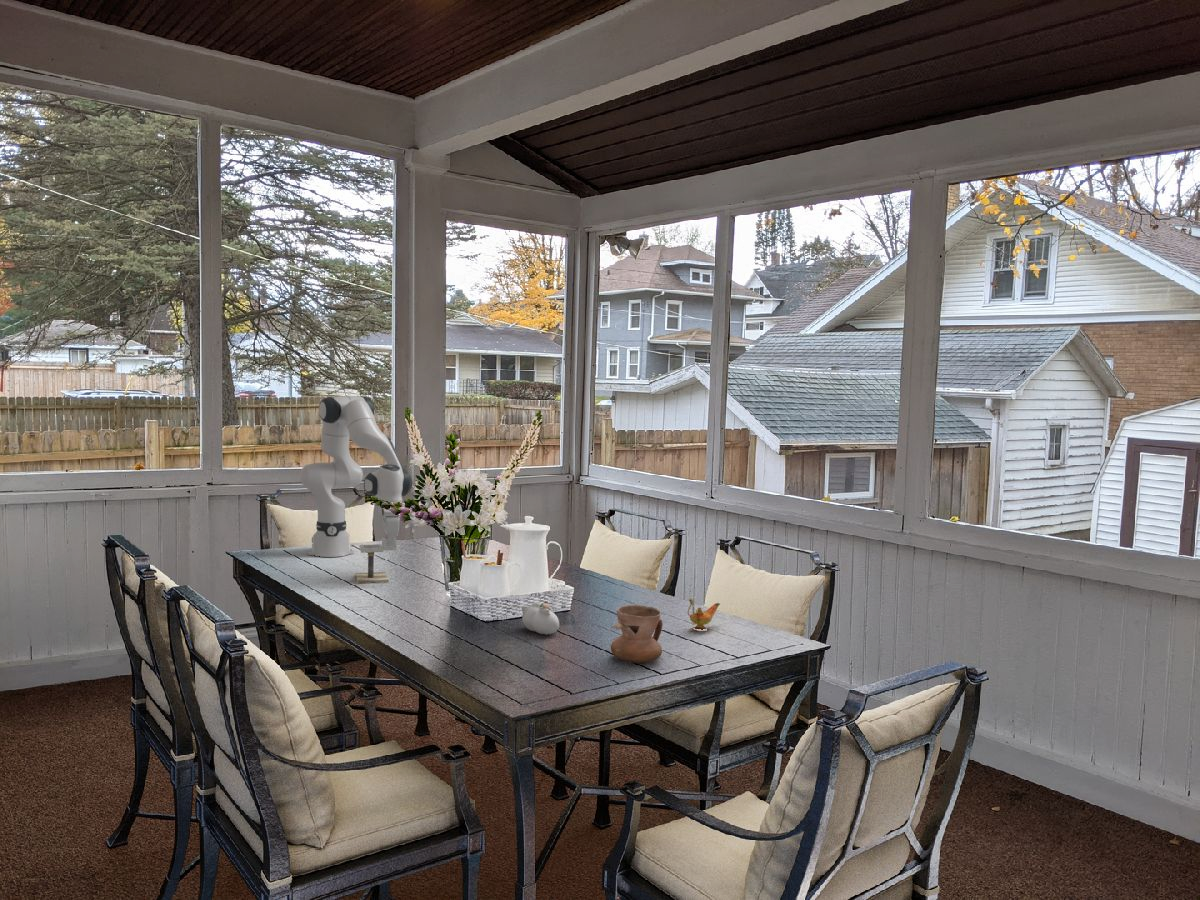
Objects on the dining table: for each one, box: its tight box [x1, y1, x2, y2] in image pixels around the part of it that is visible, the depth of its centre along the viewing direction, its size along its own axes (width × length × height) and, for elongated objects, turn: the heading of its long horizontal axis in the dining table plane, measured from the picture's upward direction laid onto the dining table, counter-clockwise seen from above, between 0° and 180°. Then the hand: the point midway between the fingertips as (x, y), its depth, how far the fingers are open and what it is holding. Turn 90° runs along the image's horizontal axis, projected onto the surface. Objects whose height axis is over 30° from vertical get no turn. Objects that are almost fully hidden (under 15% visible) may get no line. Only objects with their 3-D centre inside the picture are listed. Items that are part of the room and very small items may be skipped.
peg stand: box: [354, 552, 389, 584], centre depth 336 cm, size 13×11×11 cm
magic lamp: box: [687, 598, 721, 630], centre depth 285 cm, size 7×18×11 cm, turn 139°
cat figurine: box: [520, 601, 560, 636], centre depth 275 cm, size 10×8×15 cm
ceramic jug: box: [610, 604, 663, 664], centre depth 252 cm, size 18×14×14 cm
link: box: [359, 537, 397, 554], centre depth 334 cm, size 8×13×4 cm, turn 109°
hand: (389, 544), depth 336 cm, fingers closed on link, 2 cm apart
